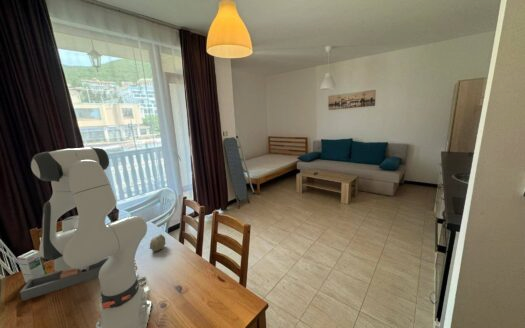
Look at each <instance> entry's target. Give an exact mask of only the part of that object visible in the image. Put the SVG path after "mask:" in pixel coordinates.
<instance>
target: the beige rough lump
mask: <svg viewBox="0 0 525 328" xmlns="http://www.w3.org/2000/svg"><path fill="white" fill-rule="evenodd" d="M166 243H167V242H166V237H165V236H164V235H163V234H159V235H157V236H154V237H152V239H151V240H150V243H149V249H150V250H151V251H152V252H155V251H156V252H158V251H161V250H162V249H163V248H164V247H165V245H166ZM160 249H161V250H160Z"/></svg>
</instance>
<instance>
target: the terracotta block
mask: <svg viewBox="0 0 525 328" xmlns="http://www.w3.org/2000/svg"><path fill="white" fill-rule="evenodd" d="M79 273H81V271H80V270H79V269H74V268H69V269H66V270H63V272H62V274H61V275H60V278H61V279H62V278H65V277H69V276H72V275H76V274H79Z"/></svg>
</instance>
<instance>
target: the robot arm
mask: <svg viewBox="0 0 525 328" xmlns="http://www.w3.org/2000/svg"><path fill="white" fill-rule="evenodd" d="M109 158H110V157H109V155H108V152H106V150H104V148H102V147H97V146H90V147H79V148H78V147H77V148H63V149H57V150H53V151H42V152H39V153H36V154H34V156H33V157H32V158H31V162H30V168H31V171H32V173H33V174H34V175H35V177H37V179H38V180H41V181H44V182H51V183H50V184H51V188H52V195H51V197H50V198H49V200H47V201H46V202H44V203H43V204H44V205H43V207H42V217H41V237H40V242H39V243H40V244H39V250H38V251H40V254H41V256H42V259H43V260H50V261H52V262H53V269H54V272H59V271H62V270H66V269H69V268H74V269H79V270H80V271H81V273H82V272H86V271H88V270H89V266H90V265H93V264H96V263H98V262H100V261H102V260H104V259H106V258H107V257H109V258H108V260H107V261H106V262H105V263H104V264H103V266H102V267H101V269H100V271H99V275H98V277H97V278H98V281H99V285H100V303H99V304H98V305H99V306H98V307H99V309H100V318H99V319H98V321H97V322H96V324H95V328H146V326H147V322H148V323H149V321H148V318H149V319H150V317H149V315H150V316H151V312H150V310H151V311H152V308H151V306H153V302H152V300H148V299H147V297H146V291H145V288H144V287H142V286H140V284H139V282H140V281H139V279H138V276H137V275H136V274H137V273H136V269H135V259H136V258H135V256H136V254H137V250H138V247H139V246H140V243H142V240H143V239H144V238H145V236H146V235H147V232H148V224H147V222H146V221H145V218H143V217H141V216H140V215H132V216H126V217H123V218H121V219H118V220H116V221H113V222H110V223H108V224H106V218H107V216H108V215H109V214H110V213H111V212H113V210H114V209H115V208H116V205H117V199H116V196H115V194H114V191H113V188H112V184H111V182H110V179H109V178H108V176H107V173H106V172H105V170H107V168H108V167H109V165H110V159H109ZM74 208H76V210H77V215H73V216H69V217H66V218H64V219H63V220H61V229H62V230H61V231H62V232H63V233H61V232H59V234H58V233H57V223H58V222H57V221H58V220H59V219H60V218H61V216H63V215H64V214H66V213H67V212H68V211H71V210H72V209H74ZM147 306H149V307H147ZM144 322H145V323H144ZM147 327H148V326H147Z"/></svg>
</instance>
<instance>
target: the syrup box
mask: <svg viewBox="0 0 525 328" xmlns="http://www.w3.org/2000/svg"><path fill="white" fill-rule="evenodd" d="M17 260H18V264H19V267H20V270H21V273H22V277H23V279H24V282H25V284H26V283H27V282H28V281H29V279H33V278H36V277H40V276H43V275H47V274H48V272H47V270H46V267H45V262H44V258H43V257H42V256H41V254H40V250H37V249H36V250H35V249H32V250H30V251H28V252H26V253H23V254H21V255H19V256H17Z"/></svg>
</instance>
